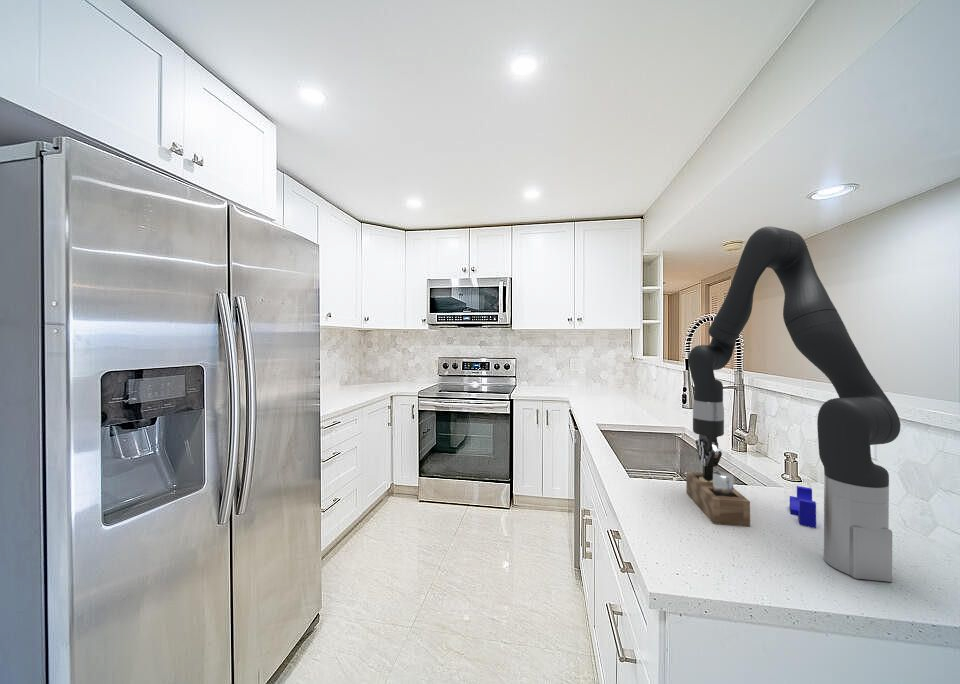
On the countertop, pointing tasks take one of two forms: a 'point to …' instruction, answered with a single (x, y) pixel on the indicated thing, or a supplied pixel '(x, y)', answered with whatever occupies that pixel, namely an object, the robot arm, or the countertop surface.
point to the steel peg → (723, 484)
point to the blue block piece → (804, 507)
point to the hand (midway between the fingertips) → (707, 478)
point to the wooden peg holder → (718, 502)
